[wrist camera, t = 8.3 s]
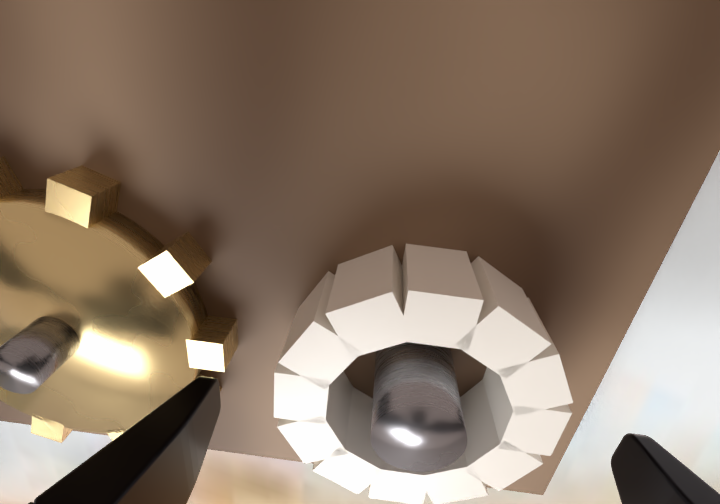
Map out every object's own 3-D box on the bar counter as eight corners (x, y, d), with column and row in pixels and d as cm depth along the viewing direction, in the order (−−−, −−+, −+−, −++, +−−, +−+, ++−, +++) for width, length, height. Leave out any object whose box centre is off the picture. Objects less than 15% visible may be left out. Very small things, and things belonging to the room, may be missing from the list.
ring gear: (290, 420, 12) (273, 484, 10) (298, 229, 9) (275, 272, 7) (500, 449, 12) (519, 519, 10) (575, 265, 9) (619, 318, 7)
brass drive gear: (-18, 401, 13) (-96, 468, 11) (-141, 138, 9) (-296, 164, 7) (242, 437, 13) (214, 511, 11) (229, 183, 9) (180, 224, 7)
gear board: (-20, 379, 15) (-61, 412, 13) (-398, -456, 6) (-606, -588, 5) (529, 453, 14) (543, 494, 13) (885, -340, 6) (1028, -453, 5)
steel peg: (371, 378, 11) (365, 464, 9) (380, 320, 10) (376, 400, 8) (443, 387, 11) (455, 477, 9) (458, 330, 10) (477, 413, 8)
